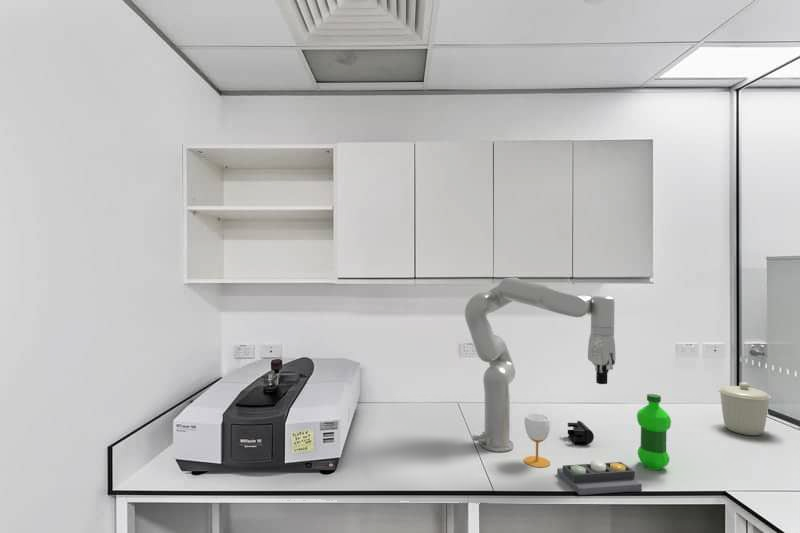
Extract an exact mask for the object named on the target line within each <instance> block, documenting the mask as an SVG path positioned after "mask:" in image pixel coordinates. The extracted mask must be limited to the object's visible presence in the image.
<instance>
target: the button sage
mask: <svg viewBox="0 0 800 533" xmlns="http://www.w3.org/2000/svg"><path fill="white" fill-rule="evenodd" d="M572 465H573V466H571V471H572V472H573V473H574V474H582V473H586V469H585V468H584V467H582V466H578V465H579V464H572Z"/></svg>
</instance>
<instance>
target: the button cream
mask: <svg viewBox="0 0 800 533" xmlns="http://www.w3.org/2000/svg"><path fill="white" fill-rule="evenodd" d="M605 463H606V462H604V461H599V460H592V461H590V464H591V470H593V471H594V472H595V473H597V472H606V464H605Z"/></svg>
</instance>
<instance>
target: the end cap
mask: <svg viewBox="0 0 800 533" xmlns="http://www.w3.org/2000/svg"><path fill="white" fill-rule="evenodd" d="M567 427H568V428H572V429H567V437H568V440H570V441H571V442H572V444H573V445H574V446H580V447H581V446H582V447H583V446H584V447H586V446H588V445H590V444H591V443H593V441H594V439H595V435H594V432H593V431H592V430H591V429H590V428H589V427H588V426H586V424H585V423H584V422H582V421H580V420H577V421H576V422H567Z"/></svg>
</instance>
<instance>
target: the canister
mask: <svg viewBox="0 0 800 533" xmlns="http://www.w3.org/2000/svg"><path fill="white" fill-rule="evenodd" d="M738 384H739V385H726V386H723V387H720V388H718V392H719V393H720V401H721V402H720V403H721V412H722V418H723V423H724V425H725V427H726V428H727V429H728V430H729V431H730V432H734V433H736V434H739V435H740V434H741V435H746V436H760V435H762V434H763V433H764V431H765V427H766V423H767V416H768V410H769V406H770V405H769V403H770V400H771V399H772V396H771V395H770V394H768V393H767V392H765V391H763V390H760V389H759V388H758V389H757V388H752V387H750V383H748V382H745V381H741V382H739V383H738Z"/></svg>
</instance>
